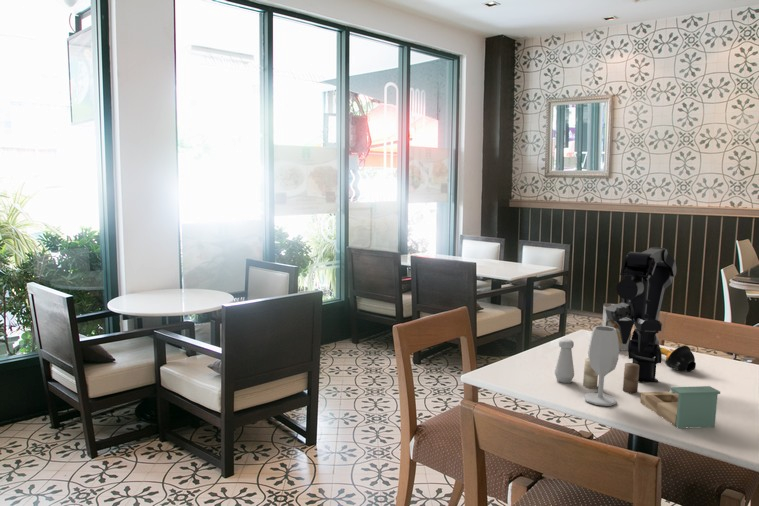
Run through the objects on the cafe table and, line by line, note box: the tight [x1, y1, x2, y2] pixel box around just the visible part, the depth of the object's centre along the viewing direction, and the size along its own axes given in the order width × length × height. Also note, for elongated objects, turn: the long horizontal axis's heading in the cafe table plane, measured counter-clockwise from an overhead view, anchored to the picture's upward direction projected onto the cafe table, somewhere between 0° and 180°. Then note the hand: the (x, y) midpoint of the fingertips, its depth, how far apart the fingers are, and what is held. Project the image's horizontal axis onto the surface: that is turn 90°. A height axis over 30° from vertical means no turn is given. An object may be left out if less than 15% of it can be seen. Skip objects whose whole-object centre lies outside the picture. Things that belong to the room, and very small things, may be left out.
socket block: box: [640, 391, 679, 427], centre depth 162 cm, size 10×16×3 cm, turn 7°
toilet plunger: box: [660, 345, 697, 373], centre depth 203 cm, size 9×11×18 cm
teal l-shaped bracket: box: [669, 385, 721, 429], centre depth 154 cm, size 11×4×9 cm, turn 97°
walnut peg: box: [622, 362, 639, 395], centre depth 178 cm, size 4×4×8 cm
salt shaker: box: [554, 338, 575, 384], centre depth 186 cm, size 6×6×13 cm
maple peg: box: [582, 357, 599, 389], centre depth 182 cm, size 4×4×8 cm
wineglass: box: [583, 325, 620, 407], centre depth 169 cm, size 9×9×21 cm
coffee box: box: [601, 302, 632, 351], centre depth 223 cm, size 9×6×16 cm
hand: (632, 348), depth 177 cm, fingers open, 9 cm apart
